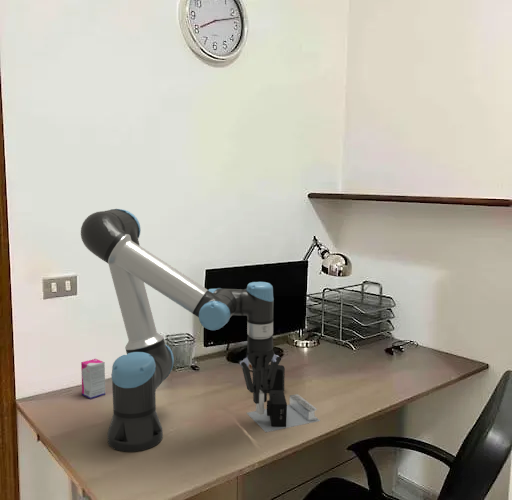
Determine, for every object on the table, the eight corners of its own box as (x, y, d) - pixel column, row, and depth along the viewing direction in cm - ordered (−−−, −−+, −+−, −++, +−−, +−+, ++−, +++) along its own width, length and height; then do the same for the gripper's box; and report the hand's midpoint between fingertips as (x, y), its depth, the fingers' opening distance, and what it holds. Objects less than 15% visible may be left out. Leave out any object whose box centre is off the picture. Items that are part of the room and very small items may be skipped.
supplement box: (106, 394, 187) (105, 361, 185) (90, 399, 183) (89, 366, 181) (97, 389, 191) (95, 357, 189) (81, 394, 186) (80, 362, 185)
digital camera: (264, 411, 170) (265, 389, 169) (282, 411, 170) (283, 389, 169) (267, 426, 160) (268, 403, 159) (286, 426, 160) (287, 403, 159)
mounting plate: (265, 437, 157) (265, 432, 157) (246, 417, 170) (246, 412, 170) (320, 425, 164) (320, 420, 164) (297, 407, 177) (297, 403, 177)
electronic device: (282, 398, 184) (282, 369, 183) (253, 396, 186) (253, 367, 185) (284, 393, 188) (284, 365, 187) (255, 391, 190) (255, 363, 189)
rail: (308, 421, 164) (308, 410, 163) (289, 406, 175) (289, 395, 174) (317, 419, 165) (317, 408, 164) (297, 404, 176) (298, 393, 175)
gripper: (244, 342, 154) (244, 422, 157) (286, 336, 159) (285, 414, 163) (234, 334, 161) (234, 411, 164) (274, 329, 166) (274, 404, 170)
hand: (260, 412), depth 163 cm, fingers closed
